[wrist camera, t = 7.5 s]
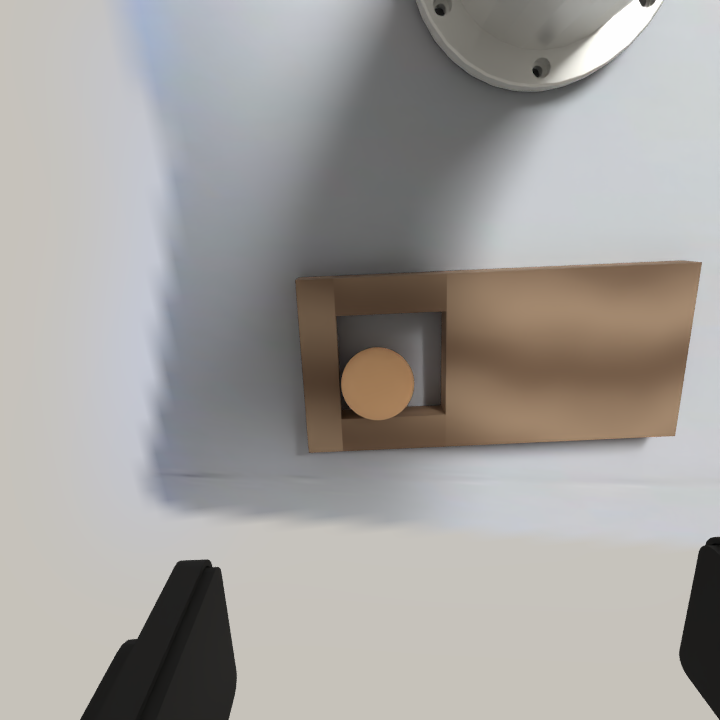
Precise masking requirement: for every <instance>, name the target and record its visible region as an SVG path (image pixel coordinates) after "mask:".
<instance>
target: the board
mask: <svg viewBox="0 0 720 720" xmlns="http://www.w3.org/2000/svg"><path fill="white" fill-rule="evenodd" d="M701 265H702V262H692V261H661V262H638V263H615V264H593V265H570V266H547V267H524V268H502V269H479V270H456V271H433V272H411V273H388V274H365V275H342V276H320V277H298V278H297V279H296V280H295V283H296V296H297V308H298V321H299V334H300V346H301V359H302V372H303V384H304V397H305V410H306V422H307V435H308V448H309V453H315V452H337V451H358V450H380V449H402V448H423V447H445V446H467V445H488V444H510V443H531V442H553V441H575V440H596V439H618V438H640V437H661V436H675V432H676V426H677V419H678V413H679V406H680V400H681V394H682V387H683V381H684V374H685V368H686V361H687V355H688V348H689V342H690V336H691V329H692V323H693V316H694V310H695V303H696V297H697V290H698V284H699V278H700V271H701ZM441 311H442V314H441V405H434V406H412V407H405V408H404V410H403V411H401V412H400V413H399V414H397V415H396V416H394V417H391V418H389V419H385V420H371V419H367V418H364V417H362V416H360V415H358V414H357V413H355V412H354V411H353V410H352V409H346V410H342V404H341V387H340V369H339V351H338V333H337V316H351V315H373V314H396V313H418V312H441Z"/></svg>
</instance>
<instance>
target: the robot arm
mask: <svg viewBox="0 0 720 720" xmlns="http://www.w3.org/2000/svg"><path fill="white" fill-rule="evenodd" d="M663 1H664V0H416V3H417V6H418V9H419V11H420V14H421V17H422V19H423V21H424V23H425V24H426V26H427V28H428V30H429V31H430V33H431V35H432V37H433V38H434V40H435V42H436V43H437V44H438V45H439V46H440V47H441V49H442V50H443V51H444V52H445V53H446V54H447V56H448V57H449V58H450V59H451V60H452V61H453V62H454V63H456V64H457V65H458V66H459V67H461V68H462V69H463V70H465V71H466V72H467V73H468V74H470V75H471V76H473V77H475V78H477V79H479V80H481V81H483V82H486V83H488V84H490V85H492V86H495V87H499V88H504V89H508V90H512V91H533V92H540V91H545V90H550V89H555V88H560V87H564V86H566V85H569V84H571V83H573V82H576V81H578V80H581V79H583V78H585V77H587V76H589V75H590V74H592V73H593V72H595V71H597V70H599V69H600V68H602V67H604V66H605V65H607V64H608V63H609V62H610V61H612V60H613V59H614V58H616V57H617V56H618V55H619V54H621V53H622V52H623V51H624V50H626V49H627V48H628V47H629V46H630V45H631V44H632V43H633V41H634V40H635V39H636V38H637V37H638V36H639V35H640V34H641V33H642V31H643V30H644V29H645V28H646V27H647V26H648V24H649V23H650V21H651V20H652V19H653V17H654V16H655V14H656V13H657V11H658V10H659V8H660V7H661V5H662V3H663ZM639 2H640V3H641V5H640V3H639ZM436 8H441V9H442V10H443V11H444V16H440V15H437V14H436V12H435V9H436ZM532 69H537V70H538V71H539V77H538V78H537V77H536V76H535V75H534V74H533V70H532ZM679 656H680V661H681V665H682V667H683V669H684V671H685V673H686V675H687V676H688V678H689V679H690V680H691V682H692V683H693V684H694V686H695V687H696V688H697V690H698V691H699V692H700V694H701V695H702V697H703V698H704V699H705V701H706V702H707V703H708V705H709V706H710V708H711V709H712V710H713V711H714V713H715V714H716V715H717V717H718V718H719V720H720V537H713V538H710V539H709V540H708V541H707V542H706V545H705V546H702V547H701V548H700V551H699V554H698V559H697V565H696V569H695V575H694V580H693V585H692V590H691V595H690V600H689V605H688V610H687V615H686V621H685V625H684V630H683V635H682V641H681V646H680V651H679ZM236 679H237V673H236V666H235V659H234V653H233V646H232V639H231V633H230V626H229V620H228V613H227V606H226V601H225V593H224V587H223V580H222V574H221V569H220V568H219V567H212V564H211V562H210V560H186V561H179V562H177V564H176V566H175V567H174V569H173V571H172V573H171V575H170V577H169V579H168V581H167V583H166V585H165V587H164V588H163V590H162V592H161V594H160V596H159V598H158V600H157V602H156V604H155V606H154V608H153V610H152V612H151V613H150V615H149V618H148V619H147V621H146V623H145V625H144V627H143V629H142V631H141V633H140V635H139V637H138V639H132V640H128V641H126V642H125V643H124V644H123V645H122V646H121V648H120V649H119V650H118V652H117V653H116V655H115V657H114V659H113V661H112V663H111V664H110V666H109V668H108V670H107V672H106V673H105V675H104V677H103V679H102V681H101V683H100V684H99V686H98V688H97V690H96V692H95V694H94V696H93V697H92V699H91V701H90V703H89V705H88V706H87V708H86V710H85V712H84V714H83V716H82V717H81V719H80V720H228V719H229V716H230V712H231V708H232V704H233V699H234V696H235V690H236V681H237V680H236Z"/></svg>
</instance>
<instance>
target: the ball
mask: <svg viewBox="0 0 720 720" xmlns="http://www.w3.org/2000/svg"><path fill="white" fill-rule="evenodd" d="M341 389H342V393H343V396H344V399H345V401H346V403H347V404H348V406H349V407H350V408H351V409H352V410H353V411H354V412H355V413H357V414H358V415H360V416H362V417H364V418H367V419H371V420H385V419H389V418H391V417H394V416H396V415H397V414H399V413H400V412H401V411H403V410H404V408H405V407H406V406H407V405H408V403H409V402H410V400H411V398H412V394H413V391H414V377H413V373H412V370H411V368H410V366H409V364H408V363H407V362H406V360H405V359H404V358H403V357H402V356H401V355H399V354H398V353H396V352H395V351H392V350H390V349H387V348H381V347H374V348H369V349H365V350H363V351H361V352H359V353H357V354H356V355H355V356H353V357H352V358H351V359H350V361H349V362H348V363H347V365H346V367H345V369H344V371H343V374H342V379H341Z"/></svg>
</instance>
